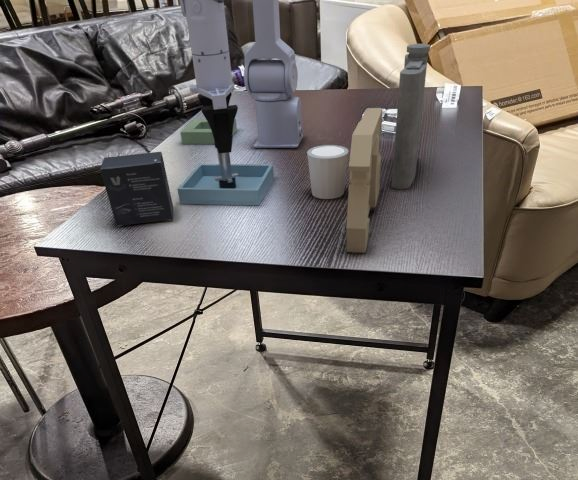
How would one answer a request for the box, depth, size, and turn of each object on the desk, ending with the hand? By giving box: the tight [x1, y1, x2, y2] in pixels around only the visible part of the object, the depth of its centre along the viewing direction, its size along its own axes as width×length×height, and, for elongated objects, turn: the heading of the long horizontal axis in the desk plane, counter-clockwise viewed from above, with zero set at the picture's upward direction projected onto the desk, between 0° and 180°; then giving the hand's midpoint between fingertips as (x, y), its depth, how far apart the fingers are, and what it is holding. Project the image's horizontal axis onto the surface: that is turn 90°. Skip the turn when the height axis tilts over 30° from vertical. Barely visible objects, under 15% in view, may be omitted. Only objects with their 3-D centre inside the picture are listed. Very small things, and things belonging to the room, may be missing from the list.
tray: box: [176, 163, 275, 206], centre depth 94 cm, size 14×12×3 cm
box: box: [99, 151, 174, 228], centre depth 84 cm, size 9×6×10 cm, turn 99°
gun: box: [346, 107, 383, 254], centre depth 78 cm, size 24×3×15 cm, turn 168°
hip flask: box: [391, 43, 431, 190], centre depth 90 cm, size 16×4×20 cm, turn 167°
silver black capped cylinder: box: [213, 141, 239, 189], centre depth 91 cm, size 4×4×8 cm
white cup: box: [306, 144, 350, 200], centre depth 89 cm, size 7×7×7 cm
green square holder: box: [180, 118, 238, 145], centre depth 118 cm, size 10×10×2 cm
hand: (222, 145), depth 89 cm, fingers open, 7 cm apart
